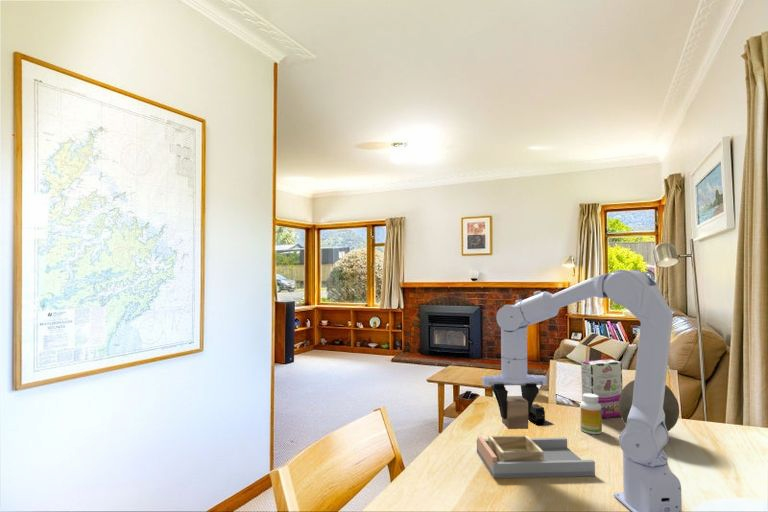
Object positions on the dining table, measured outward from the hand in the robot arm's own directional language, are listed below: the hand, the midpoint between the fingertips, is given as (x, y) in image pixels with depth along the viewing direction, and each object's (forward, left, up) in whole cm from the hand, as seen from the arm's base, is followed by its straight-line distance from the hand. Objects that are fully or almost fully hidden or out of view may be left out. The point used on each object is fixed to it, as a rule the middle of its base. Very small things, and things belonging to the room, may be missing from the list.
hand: (514, 417), depth 100 cm
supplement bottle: (+19, -28, -11) cm, 35 cm away
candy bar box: (+31, -38, -11) cm, 50 cm away
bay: (0, -4, -10) cm, 11 cm away
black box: (+29, -17, -11) cm, 35 cm away
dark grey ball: (+14, -41, -11) cm, 45 cm away
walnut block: (0, 0, -2) cm, 2 cm away
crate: (0, 0, -9) cm, 9 cm away
